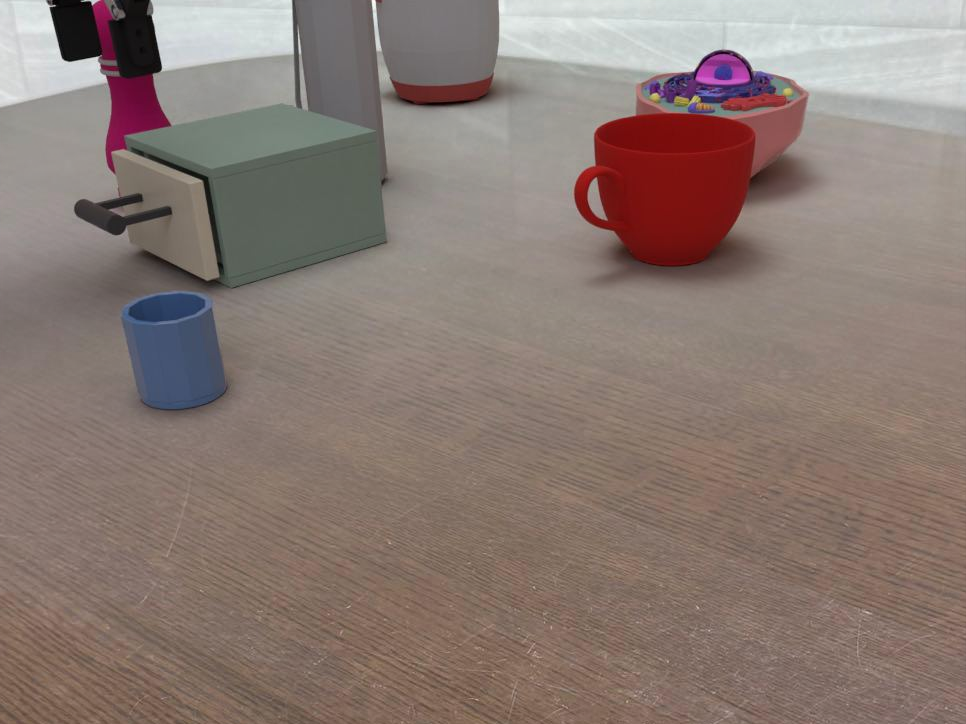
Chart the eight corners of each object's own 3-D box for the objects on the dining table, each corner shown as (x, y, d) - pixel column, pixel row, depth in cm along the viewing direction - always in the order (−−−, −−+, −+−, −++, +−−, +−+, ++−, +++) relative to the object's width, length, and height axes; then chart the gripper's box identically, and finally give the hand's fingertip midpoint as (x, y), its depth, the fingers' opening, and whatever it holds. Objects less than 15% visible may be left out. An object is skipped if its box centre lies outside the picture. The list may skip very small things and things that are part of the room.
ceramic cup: (526, 263, 101) (523, 141, 95) (669, 218, 110) (673, 105, 104) (634, 305, 92) (636, 174, 87) (779, 253, 101) (790, 131, 96)
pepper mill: (172, 186, 122) (132, -30, 111) (205, 202, 117) (166, -23, 106) (104, 201, 118) (55, -22, 107) (134, 218, 113) (87, -14, 103)
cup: (165, 418, 78) (147, 331, 75) (125, 390, 81) (106, 307, 78) (242, 390, 81) (228, 306, 78) (200, 365, 85) (185, 284, 81)
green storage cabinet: (231, 288, 97) (211, 168, 92) (146, 246, 106) (123, 135, 101) (386, 242, 106) (376, 130, 101) (296, 207, 115) (282, 103, 110)
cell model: (609, 199, 115) (610, 75, 109) (654, 145, 131) (658, 34, 125) (787, 211, 111) (799, 83, 105) (812, 154, 127) (823, 39, 121)
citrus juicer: (364, 86, 159) (347, -84, 148) (494, 78, 161) (487, -90, 150) (372, 114, 146) (354, -70, 135) (513, 105, 148) (507, -77, 137)
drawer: (142, 299, 93) (121, 199, 89) (68, 258, 101) (45, 165, 97) (355, 238, 104) (346, 146, 100) (273, 205, 113) (261, 119, 109)
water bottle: (403, 175, 123) (380, -100, 110) (363, 196, 117) (333, -91, 104) (328, 166, 127) (296, -101, 113) (285, 187, 121) (246, -93, 107)
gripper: (-50, -192, 86) (17, 61, 95) (54, -194, 75) (118, 92, 84) (51, -198, 90) (105, 45, 99) (163, -200, 79) (212, 72, 88)
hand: (111, 66), depth 92 cm, fingers open, 9 cm apart
